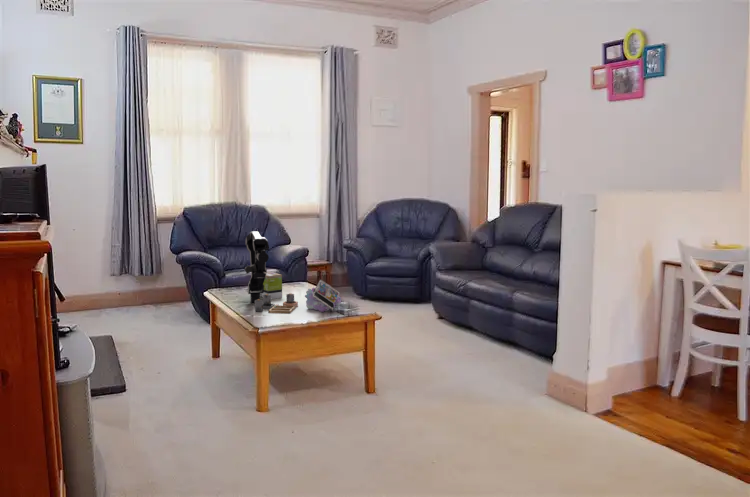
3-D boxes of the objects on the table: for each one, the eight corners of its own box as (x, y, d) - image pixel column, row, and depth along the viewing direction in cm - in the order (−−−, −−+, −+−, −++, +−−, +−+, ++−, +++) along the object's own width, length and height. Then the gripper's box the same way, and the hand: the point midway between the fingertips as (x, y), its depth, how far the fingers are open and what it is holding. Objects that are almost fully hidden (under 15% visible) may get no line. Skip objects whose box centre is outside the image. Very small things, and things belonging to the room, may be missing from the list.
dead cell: (287, 305, 370) (287, 292, 369) (295, 305, 369) (294, 292, 368) (285, 307, 365) (285, 294, 364) (293, 307, 365) (293, 294, 364)
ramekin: (285, 305, 372) (285, 300, 371) (298, 306, 371) (298, 301, 371) (282, 308, 364) (281, 303, 363) (295, 309, 363) (295, 303, 363)
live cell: (264, 306, 366) (264, 293, 365) (271, 306, 365) (271, 293, 365) (262, 308, 361) (262, 294, 361) (270, 308, 361) (269, 295, 360)
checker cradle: (263, 306, 370) (263, 302, 370) (280, 306, 369) (280, 303, 369) (257, 310, 358) (257, 306, 358) (275, 311, 357) (275, 307, 357)
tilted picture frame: (323, 295, 378) (312, 272, 369) (353, 298, 366) (342, 274, 357) (305, 318, 364) (293, 295, 355) (335, 322, 352) (323, 297, 344)
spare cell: (256, 311, 355) (256, 298, 354) (264, 312, 355) (263, 298, 354) (254, 313, 351) (253, 300, 350) (261, 313, 350) (261, 300, 350)
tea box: (257, 295, 403) (256, 272, 401) (271, 294, 409) (271, 271, 407) (268, 299, 391) (267, 275, 389) (282, 297, 397) (282, 274, 395)
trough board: (274, 308, 363) (274, 305, 363) (295, 309, 362) (295, 305, 362) (268, 314, 349) (268, 310, 349) (290, 314, 348) (290, 311, 348)
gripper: (246, 257, 365) (247, 284, 367) (244, 262, 347) (244, 291, 349) (266, 257, 367) (266, 284, 369) (265, 262, 348) (265, 290, 350)
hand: (260, 287), depth 359 cm, fingers open, 9 cm apart
